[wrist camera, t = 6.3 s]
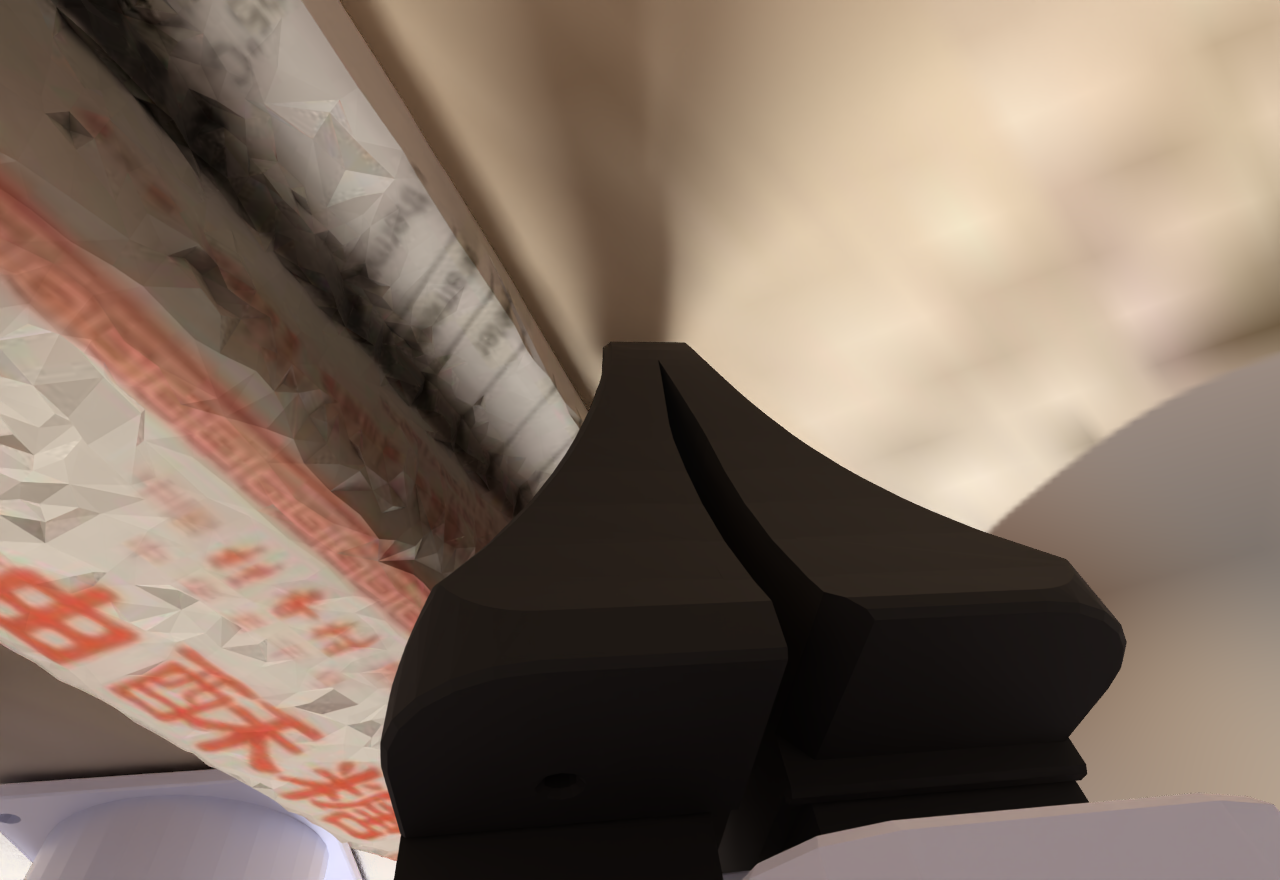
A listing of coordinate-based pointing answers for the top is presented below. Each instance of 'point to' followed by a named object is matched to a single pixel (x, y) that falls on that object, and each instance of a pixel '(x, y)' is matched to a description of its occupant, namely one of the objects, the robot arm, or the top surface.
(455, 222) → the packaged product
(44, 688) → the top surface
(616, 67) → the top surface
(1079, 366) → the top surface
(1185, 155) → the top surface
